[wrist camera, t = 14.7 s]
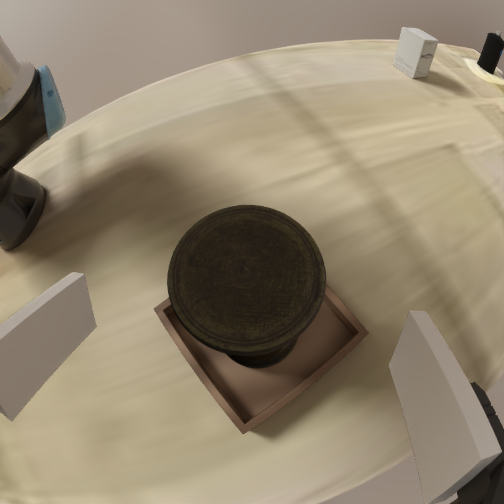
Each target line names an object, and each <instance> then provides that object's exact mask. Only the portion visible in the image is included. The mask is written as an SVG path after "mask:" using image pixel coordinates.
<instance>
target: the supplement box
mask: <svg viewBox="0 0 504 504" xmlns="http://www.w3.org/2000/svg"><path fill="white" fill-rule="evenodd" d="M437 44H438V40H437V39H435V38H434V37H432V36H430V35H429V34H427V33H425V32H423V31H421V30H419V29H417V28H404V27H403V28H402V30H401V35H400V39H399V43H398V47H397V51H396V55H395V59H394V63H393V65H394V66H395V67H397V68H398V69H399V70H401V71H402V72H404V73H405V74H407V75H408V76H409V77H411V78H412V79H413V78H418V77H427V75H428V72H429V69H430V66H431V63H432V60H433V57H434V54H435V51H436V48H437Z"/></svg>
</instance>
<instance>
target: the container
mask: <svg viewBox="0 0 504 504" xmlns="http://www.w3.org/2000/svg"><path fill="white" fill-rule="evenodd" d="M167 286H168V294H169V299H170V303H171V305H172V308H173V311H174V313H175V315H176V317H177V318H178V320H179V321H180V323H181V324H182V326H183V327H184V328H185V329H186V330H187V331H188V332H189V333H190V334H191V335H192V336H193V337H194V338H195V339H196V340H198V341H199V342H200V343H202V344H204V345H205V346H207V347H209V348H211V349H213V350H216V351H218V352H222V353H226V355H227V356H228V357H229V358H230V359H232V360H233V361H234V362H236V363H238V364H240V365H242V366H245V367H248V368H266V367H270V366H273V365H275V364H277V363H279V362H281V361H282V360H283V359H285V358H286V357H287V356H288V355H289V354H290V353H291V351H292V350H293V348H294V347H295V345H296V343H297V340H298V337H299V336H300V335H301V334H302V333H303V332H304V331H305V330H306V329H307V328H308V327H309V326H310V324H311V323H312V322H313V320H314V319H315V317H316V316H317V314H318V312H319V310H320V307H321V305H322V302H323V299H324V295H325V289H326V272H325V266H324V261H323V258H322V255H321V253H320V251H319V248H318V246H317V245H316V243H315V241H314V240H313V238H312V237H311V235H310V234H309V233H308V232H307V231H306V230H305V229H304V228H303V227H302V226H301V225H300V224H299V223H298V222H297V221H295V220H294V219H292V218H291V217H289V216H288V215H286V214H284V213H282V212H280V211H277V210H274V209H271V208H268V207H263V206H257V205H238V206H232V207H228V208H224V209H221V210H218V211H216V212H213V213H211V214H209V215H207V216H206V217H204V218H202V219H201V220H200V221H198V222H197V223H196V224H194V225H193V226H192V227H191V228H190V229H189V230H188V231H187V232H186V234H185V235H184V236H183V237H182V238H181V240H180V241H179V243H178V245H177V246H176V248H175V250H174V252H173V255H172V258H171V261H170V265H169V270H168V278H167Z"/></svg>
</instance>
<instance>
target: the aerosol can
mask: <svg viewBox="0 0 504 504" xmlns="http://www.w3.org/2000/svg"><path fill="white" fill-rule="evenodd" d="M500 36H501V32H500V31H498V30H497V32H496V34H494V33H488V36H487V39H486V42H485V44H484V47H483V50H482V52H481V55H480V58H479V60H478V62H477V63H478V65H479V66H480V67H481V68H483V69H484V70H486V71H487V72H489V73H491V74H494V71H495V68H496V66H497V64H498V61H499V58H500V56H501V54H502V51H503V49H504V41H503V40H502V38H501V37H500Z"/></svg>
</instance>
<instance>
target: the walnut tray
mask: <svg viewBox="0 0 504 504" xmlns="http://www.w3.org/2000/svg"><path fill="white" fill-rule="evenodd" d="M154 310H155V312H156V314H157V315H158V317H159V319H160V320H161V322H162V323H163V325H164V327H165V328H166V330H167V331H168V333H169V335H170V336H171V338H172V339H173V341H174V342H175V344H176V345H177V347H178V348H179V350H180V351H181V353H182V354H183V356H184V357H185V359H186V360H187V362H188V363H189V364H190V366H191V367H192V369H193V370H194V372H195V373H196V374H197V376H198V377H199V379H200V380H201V381H202V383H203V384H204V385H205V387H206V388H207V390H208V391H209V392H210V394H211V395H212V396H213V398H214V399H215V400H216V401H217V403H218V404H219V405H220V407H221V408H222V409H223V410H224V412H225V413H226V414H227V416H228V417H229V418H230V419H231V420H232V422H233V423H234V424H235V425H236V427H237V428H238V429H239V430H240V431H241V433H242V434H245V433H246V432H248V431H249V430H251V429H252V428H254V427H255V426H257V425H258V424H260V423H261V422H263V421H264V420H265V419H267V418H268V417H270V416H271V415H272V414H274V413H275V412H277V411H278V410H279V409H281V408H282V407H283V406H285V405H286V404H287V403H289V402H290V401H291V400H293V399H294V398H295V397H297V396H298V395H299V394H300V393H302V392H303V391H304V390H306V389H307V388H308V387H309V386H310V385H312V384H313V383H314V382H315V381H317V380H318V379H319V378H320V377H321V376H323V375H324V374H325V373H326V372H327V371H328V370H330V369H331V368H332V367H333V366H334V365H335V364H337V363H338V362H339V361H340V360H341V359H342V358H343V357H344V356H345V355H347V354H348V353H349V352H350V351H351V350H352V349H353V348H354V347H355V346H356V345H357V344H358V343H359V342H361V341H362V340H363V339H364V338H365V337H366V336H367V335H368V334H369V332H368V331H367V330H366V329H365V328H364V327H363V325H362V324H361V323H360V322H359V321H358V320H357V319H356V317H355V316H354V315H353V314H352V313H351V312H350V311H349V309H348V308H347V307H346V306H345V305H344V304H343V303H342V301H341V300H340V299H339V298H338V297H337V296H336V295H335V294H334V292H333V291H332V290H331V289H330V288H329V287H328V286H327V285H326V289H325V295H324V299H323V302H322V305H321V307H320V310H319V312H318V314H317V316H316V317H315V319H314V320H313V322H312V323H311V324H310V326H309V327H308V328H307V329H306V330H305V331H304V332H303V333H302V334H301V335H300V336H299V337H298V340H297V343H296V345H295V347H294V348H293V350H292V351H291V353H290V354H289V355H288V356H287V357H286V358H285V359H283V360H282V361H281V362H279V363H277V364H275V365H273V366H270V367H266V368H248V367H245V366H242V365H240V364H238V363H236V362H234V361H233V360H232V359H230V358H229V357H228V356H227V355H226V353H222V352H218V351H216V350H213V349H211V348H209V347H207V346H205V345H204V344H202V343H200V342H199V341H198V340H196V339H195V338H194V337H193V336H192V335H191V334H190V333H189V332H188V331H187V330H186V329H185V328H184V327H183V326H182V324H181V323H180V321H179V320H178V318H177V317H176V315H175V313H174V311H173V308H172V305H171V303H170V299H169V298H168V299H166V300H165V301H163V302H162V303H161V304H159V305H158V306H157V307H155V308H154Z"/></svg>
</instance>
